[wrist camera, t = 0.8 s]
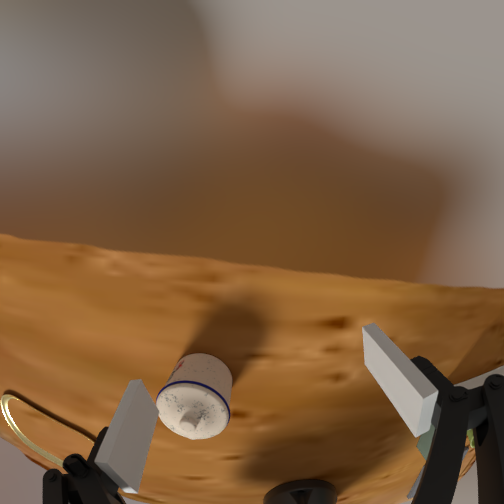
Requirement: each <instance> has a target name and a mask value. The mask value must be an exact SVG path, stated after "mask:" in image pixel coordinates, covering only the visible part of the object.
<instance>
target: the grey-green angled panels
mask: <svg viewBox="0 0 504 504" xmlns="http://www.w3.org/2000/svg"><path fill="white" fill-rule="evenodd" d="M492 374H500V375H503V376H504V365H503V366H501V367H499V368H497V369H494V370H492V371H490V372H487V373H485V374H482V375H480V376H477V377H475V378H472V379H470V380H467V381H464V382H461V383H458V384H456V385H454V386H463V387H465V388H467V389H473V388H476V387H479V386H482V385H483V384H484V381H485V379H486V378H487V377H488V376H490V375H492ZM434 430H435V427H434V426H433V425H432V423H431V425H430V429H429V431H427V432H425V433H423V434H421V436H420V439H419V441H418V444H417V448H418V449H419V451H420V452H421V454H422V455H423V457H424V458H425V460H427V457H428V453H429V450H430V446H431V442H432V437H433V434H434ZM469 430H470V429H469ZM467 431H468V430H467Z"/></svg>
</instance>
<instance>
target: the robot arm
mask: <svg viewBox="0 0 504 504" xmlns="http://www.w3.org/2000/svg"><path fill="white" fill-rule="evenodd" d="M362 331H363V344H364V359H365V365H366V366H367V368H368V369H369V371H370V372H371V374H372V375H373V376H374V378H375V379H376V381H377V382H378V384H379V385H380V386H381V388H382V389H383V391H384V392H385V394H386V395H387V397H388V398H389V400H390V401H391V402H392V404H393V405H394V407H395V408H396V410H397V411H398V413H399V414H400V416H401V417H402V419H403V420H404V422H405V423H406V424H407V426H408V427H409V429H410V430H411V432H412V433H413V435H414V436H415V438H416V437H417V436H419V435H421V434H423V433H425V432H427V431H429V429H430V425H431V423H432V425H433V426H434V427H435V430H434V434H433V437H432V442H431V446H430V450H429V453H428V457H427V460H426V464H425V467H424V470H423V473H422V476H421V479H420V482H419V485H418V487H417V490H416V493H415V495H414V498H413V500H412V503H411V504H451V502H452V499H453V496H454V492H455V489H456V485H457V481H458V477H459V473H460V468H461V464H462V459H463V453H464V448H465V442H466V435H467V430H469V429H472V431H473V437H474V445H475V453H476V462H477V475H478V496H479V497H478V501H479V502H478V503H479V504H504V376H503V375H500V374H492V375H490V376H488V377H487V378H486V379H485V381H484V384H483V385H482V386H479V387H476V388H473V389H467V388H465V387H463V386H454V385H453V384H452V383H451V382H450V381H449V380H448V379H447V378H446V377H445V376H444V375H443V374H442V373H441V372H440V371H439V370H437V368H436V367H435V366H433V364H432V363H431V362H430V361H429V360H428V359H426V358H423V357H421V356H417V357H415V358H413V359H411V360H410V359H409V358H408V357H407V356H406V355H405V354H404V353H403V352H402V351H401V350H400V349H399V348H398V347H397V346H396V345H395V344H394V343H393V342H392V341H391V340H390V339H389V338H388V336H387V335H386V334H385V333H384V332H383V331H382V330H381V329H380V328H379V327H378V326H377V325H376V324H375V323H372V324H369V325H366V326H363V327H362ZM158 414H159V410H158V408H157V407H156V405H155V403H154V402H153V400H152V398H151V396H150V395H149V393H148V391H147V389H146V388H145V386H144V384H143V382H142V380H141V379H139V380H130V382H129V384H128V386H127V389H126V391H125V393H124V395H123V397H122V399H121V401H120V404H119V406H118V408H117V410H116V412H115V415H114V417H113V419H112V421H111V423H110V426H109V427H104V428H103V429H102V430H101V432H100V433H99V435H98V437H97V439H96V440H97V441H95V443H94V446H93V448H92V450H91V452H90V455H89V457H88V459H87V461H86V460H85V459H84V458H83V457H82V456H81V455H80V454H71V455H69V456H67V457H66V458H65V460H64V461H63V464H62V466H63V468H64V469H65V470H66V471H67V472H68V473H69V474H62V473H61V472H60V471H59V470H58V469H50V470H48V471H47V472H46V473H45V474H44V476H43V504H126V503H125V501H124V499H123V498H122V496H121V495H120V494H119V493H118V492H117V491H118V488H119V487H120V488H121V489H122V490H123V491H124V492H127V493H138V490H139V486H140V482H141V478H142V474H143V470H144V466H145V462H146V458H147V455H148V451H149V447H150V443H151V440H152V436H153V432H154V429H155V425H156V422H157V418H158ZM336 502H337V493H336V490H335V487H334V486H333V485H332V484H330V483H328V482H326V481H321V480H300V481H294V482H290V483H286V484H283V485H280V486H278V487H276V488H274V489H272V490H271V491H269V492H268V493H267V494H266V495H265V497H264V500H263V503H264V504H336Z"/></svg>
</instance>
